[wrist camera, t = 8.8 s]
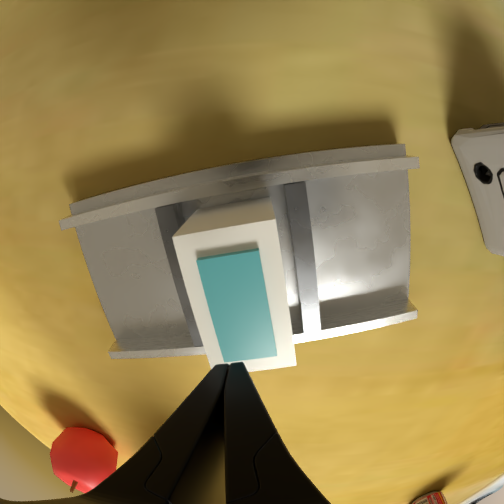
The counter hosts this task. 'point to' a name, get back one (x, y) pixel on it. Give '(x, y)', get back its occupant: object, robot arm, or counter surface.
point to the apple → (82, 458)
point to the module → (237, 284)
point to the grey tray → (290, 238)
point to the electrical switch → (484, 178)
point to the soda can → (431, 498)
